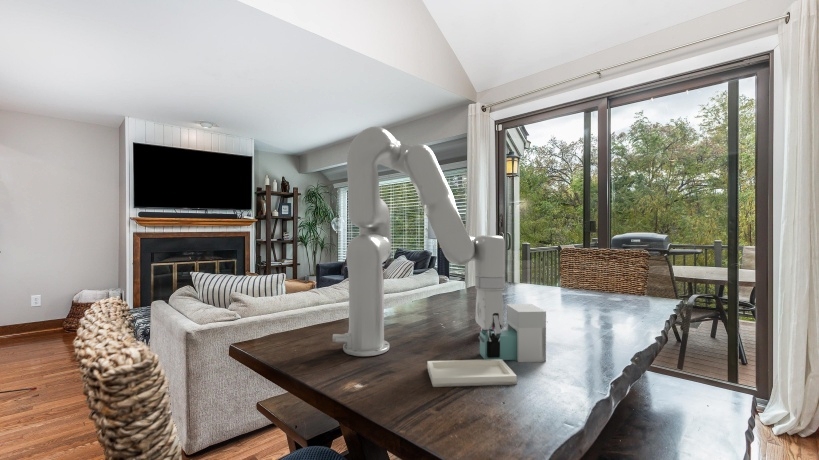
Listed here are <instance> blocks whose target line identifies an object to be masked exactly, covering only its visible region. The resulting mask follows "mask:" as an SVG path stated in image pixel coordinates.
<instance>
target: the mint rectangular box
mask: <svg viewBox="0 0 819 460" xmlns="http://www.w3.org/2000/svg"><path fill="white" fill-rule="evenodd" d="M492 333H494V332H491V335H492ZM477 337H478V339H479V355H480V356H481V357H482V358H483V360H489V359H502V360H503V361H508V360H510V361H511V360H512V361H513V360H514V361H515V360H516V361H517V331H516V330H501V335H500V357H499V358H488V357H487V341H488V332H487V331H480V330H479V336H477Z"/></svg>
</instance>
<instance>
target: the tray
mask: <svg viewBox="0 0 819 460" xmlns="http://www.w3.org/2000/svg"><path fill="white" fill-rule="evenodd" d="M426 362H427V364H426V365H427V367H426V368H427V369H426V370H427V373H428V375H429V378H430V381H431V384H432V385H431V386H432V387H433V388H441V387H442V388H443V387H444V388H445V387H471V386H472V387H473V386H474V387H475V386H503V385H505V386H506V385H508V386H509V385H517V383H518V382H517V381H518V376H517V374H516V373H515V372H514V371H513V369H511V368H510V367H509V365H508V364H507V363H506V362H505V360H502V359H489V360H484V359H462V360H461V359H459V360H458V359H457V360H455V359H452V360H427V361H426Z"/></svg>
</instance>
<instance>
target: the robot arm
mask: <svg viewBox="0 0 819 460" xmlns="http://www.w3.org/2000/svg"><path fill="white" fill-rule="evenodd" d="M378 164H380V165H381V166H383V167H387V168H389V169H392V170H394V171H396V172H400V173H401V174H404V175H406V176H408V177H409V180H410V181H411V183H412V185H413V186H412V187H413V188H414V190H415V192H416V194H417V197H418V199H419V201H420V203H421V206H422V208H423V211H424V213H425V216H426V217H427V219H428V221H429V224H430V226H431V230H432V231H433V233H434V236H435V238H436V240H437V243H438V245H439V247H440V248H441V251H442V253H443V255H444V257H445V258H446V261H448V262H450V263H451V264H453V265H455V266H464V265H466V264H469V262H474V272H475V273H474V275H475V276H474V277H475V278H474V283H475V285H474V288H475V289H476V298H475V317H474V318H475V322H476V324H477V325H478V326H479V327H481V331H487V332H488V341H487V357H488V358H499V357H500V335H501V331H502V330H503V328H504V300H503V291H504V290H505V289H506V273H505V272H506V241H505V238H504V237H503V236H501V235H497V234H496V235H494V234H493V235H492V234H491V235H490V234H489V235H488V234H487V235H486V234H485V235H478V236H477V235H469V233H468V230H467V228H466V226H465V225H464V222H463V220H462V218H461V215H460V214H459V211H458V208H457V205H456V200H455V197H454V194H453V192H452V189H451V188H450V185H449V183H448V181H447V179H446V177H445V175H444V173H443V170H442V168H441V166H440V164H439V162H438V160H437V157H436V155H435V153H434V151H433V150H432V149H431V148H430V147H429V146H428V145H426V144H422V143H416V144H413V145H410V144H409V143H405V142H403V141H400V140H399V139H396V138H395V136H394V135H393V134H392V133H391V132H390V131H389V130H387V129H386V128H383V127H381V126H370V127H368V128H365V129H363V130H361V131H360V132H359V133H358V134H357V135H356V136H355V137H354V138H353V140H352V141H351V142H350V145H349V147H348V152H347V156H346V171H347V201H348V205H347V206H348V207H347V208H348V209H347V210H348V218H349V220H350V222H351V224H352V225H354V226H355V227H357V228H358V229H359V234H358V235H356V236H354V237H353V238H352V239H351V240H350V241H349V243H348V245H347V247H346V255H345V256H346V257H345V258H346V259H345V260H346V264H347V265H346V266H347V271H348V272H347V273H348V274H347V276H348V331H347V332H345V333H344V334H339V333H333V334H332V342H335V343H336V344H343V347H342V350H343V352H344V353H345V354H347V355H349V356H353V357H354V356H355V357H373V356H378V355H381V354H382V355H383V354H385V353H386V352H387V351H389V350H390V342H388V341H387V340H385V284H384V271H383V263H384V262H386V261H387V260H388V259H389V258H390V255H391V251H392V238H391V237H392V235H391V218H390V217H391V215H390V210H389V206H388V205H387V203H386V202H385V201H384V200H383V199H382V198H381V197H380V196H381V195H380V186H379V185H380V177H379V171H378ZM492 327H494V329H492ZM491 332H494V333H492V335H491Z"/></svg>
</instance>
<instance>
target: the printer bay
mask: <svg viewBox="0 0 819 460" xmlns="http://www.w3.org/2000/svg"><path fill="white" fill-rule="evenodd" d="M505 329H506V330H516V331H517V360H516V362H518V363H539V362H540V363H541V362H542V363H545V362H547V311H546V310H544V309H542V308H540V307H538V306H536V305H534V304H532V303H520V304H518V303H516V304H515V303H514V304H513V303H510V304H509V303H507V304H506V328H505Z"/></svg>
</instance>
